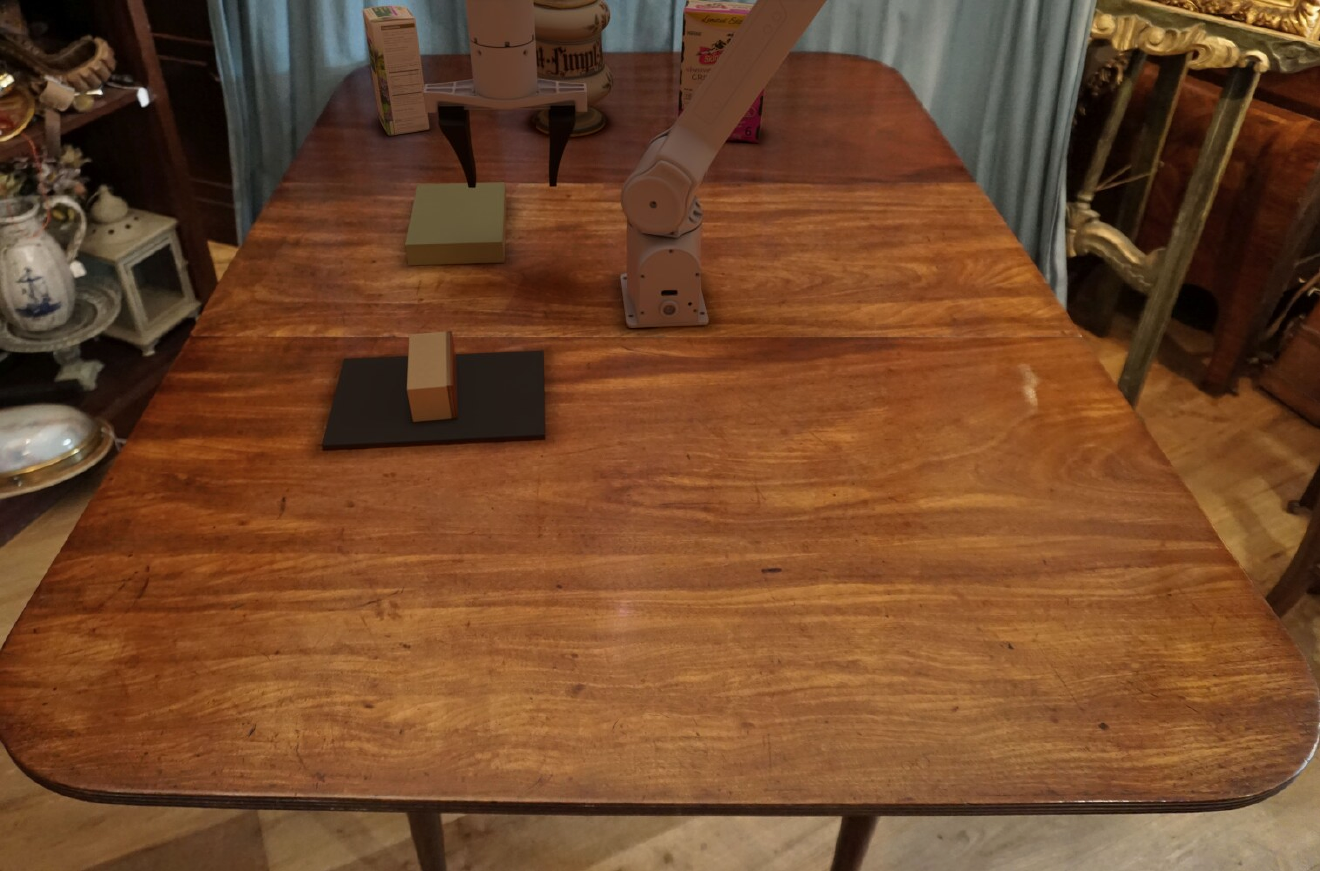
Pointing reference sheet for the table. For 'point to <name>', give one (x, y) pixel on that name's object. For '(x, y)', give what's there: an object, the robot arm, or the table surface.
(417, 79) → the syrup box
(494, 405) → the felt mat
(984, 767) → the table surface
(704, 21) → the candy bar box
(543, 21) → the apothecary jar
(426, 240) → the sage rectangular block
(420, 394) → the tan rectangular block
